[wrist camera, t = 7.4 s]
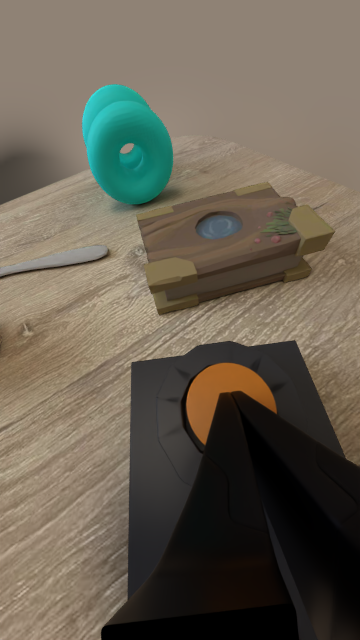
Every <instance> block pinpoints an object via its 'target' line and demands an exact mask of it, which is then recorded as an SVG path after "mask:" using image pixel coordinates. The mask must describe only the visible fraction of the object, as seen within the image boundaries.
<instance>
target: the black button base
mask: <svg viewBox="0 0 360 640" xmlns="http://www.w3.org/2000/svg"><path fill="white" fill-rule="evenodd" d="M219 363H234V364H239V365H242V366H244V367H247V368H249V369H250V370H252V371H254V372H255V373H256V374H258V375H259V376H260V377H261V378H262V379H263V380H264V382H265V383H266V384H267V386H268V387H269V389H270V391H271V393H272V395H273V397H274V400H275V404H276V410H277V414H278V415H279V416H281V417H282V418H284V419H285V420H287V421H288V422H290V423H291V424H293V425H294V426H296V427H298V428H299V429H301V430H302V431H304V432H305V433H307V434H308V435H310V436H311V437H313V438H314V439H316V440H317V442H318V441H319V442H321V443H322V444H324V445H325V446H327V447H328V448H330V449H331V450H333V451H335V452H336V453H338V454H339V455H341V456H342V457H344V458H345V455H344V453H343V451H342V448H341V446H340V444H339V441H338V439H337V437H336V434H335V432H334V430H333V427H332V425H331V423H330V420H329V418H328V416H327V413H326V411H325V409H324V406H323V404H322V402H321V399H320V397H319V395H318V392H317V390H316V388H315V385H314V383H313V381H312V378H311V376H310V374H309V371H308V369H307V367H306V364H305V362H304V360H303V357H302V355H301V353H300V350H299V348H298V346H297V343H296V341H295V340H294V341H286V342H279V343H272V344H264V345H257V346H249V347H247V346H244V345H241V344H238V343H236V342H233V341H226V342H219V343H212V344H204V345H199V346H196V347H195V348H194V349H192V350H191V351H189V352H188V353H187V354H185V355H183V356H175V357H168V358H160V359H153V360H145V361H138V362H132V364H131V424H130V484H129V544H128V600H129V598H130V597H131V596H132V595H133V594H134V593H135V592H136V591H137V590H138V589H139V588H140V587H141V585H142V584H143V583H144V582H145V581H146V580H147V579H148V578H149V576H150V575H151V573H152V572H153V571H154V569H155V567H156V566H157V564H158V562H159V561H160V559H161V557H162V555H163V553H164V551H165V548H166V546H167V544H168V542H169V539H170V537H171V535H172V533H173V530H174V528H175V526H176V523H177V521H178V519H179V517H180V514H181V512H182V510H183V507H184V505H185V503H186V501H187V498H188V496H189V493H190V491H191V488H192V486H193V483H194V481H195V478H196V475H197V472H198V469H199V465H200V462H201V458H202V455H203V451H204V448H205V445H204V444H203V443H202V442H201V441H200V440H199V439H198V437H197V436H196V435H195V433H194V431H193V430H192V427H191V425H190V423H189V419H188V416H187V408H186V402H187V395H188V391H189V388H190V386H191V384H192V382H193V381H194V379H195V378H196V377H197V375H198V374H199V373H201V372H202V371H203V370H204V369H206V368H208V367H210V366H212V365H215V364H219ZM261 500H262V499H261ZM262 504H263V502H262ZM263 508H264V512H265V516H266V520H267V525H268V529H269V533H270V538H271V541H272V545H273V549H274V553H275V556H276V559H277V563H278V566H279V569H280V572H281V574H282V577H283V579H284V582H285V584H286V587H287V589H288V592H289V594H290V597H291V599H292V602H293V604H294V607H295V609H296V613H297V622H298V632H299V640H318V639H317V636H316V634H315V632H314V629H313V627H312V624H311V622H310V619H309V617H308V614H307V612H306V609H305V607H304V604H303V602H302V599H301V597H300V594H299V592H298V589H297V587H296V584H295V582H294V579H293V577H292V574H291V572H290V569H289V567H288V564H287V562H286V559H285V557H284V554H283V552H282V549H281V547H280V544H279V542H278V539H277V537H276V534H275V532H274V529H273V527H272V524H271V522H270V519H269V517H268V514H267V512H266V509H265V507H264V504H263Z"/></svg>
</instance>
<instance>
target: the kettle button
mask: <svg viewBox="0 0 360 640" xmlns="http://www.w3.org/2000/svg"><path fill="white" fill-rule="evenodd" d="M239 390H240V391H243V392H244V393H246V394H247V395H249V396H250V397H252V398H253V399H255V400H256V401H258V402H259V403H261V404H262V405H264V406H265V407H267V408H268V409H270V410H272V411H273V412H275V413H276V414H277V410H276V404H275V400H274V397H273V395H272V393H271V391H270V389H269V387H268V386H267V384H266V383H265V382H264V380H263V379H262V378H261V377H260V376H259V375H258V374H256V373H255V372H254V371H252V370H250V369H249V368H247V367H244V366H242V365H239V364H234V363H219V364H215V365H212V366H210V367H208V368H206V369H204V370H203V371H202V372H201V373H199V374H198V375H197V377H196V378H195V379H194V381H193V382H192V384H191V386H190V388H189V391H188V395H187V402H186V408H187V416H188V419H189V423H190V425H191V427H192V430H193V431H194V433H195V435H196V436H197V437H198V439H199V440H200V441H201V442H202V443H203V444H204V445H205V444H206V441H207V437H208V433H209V430H210V426H211V423H212V419H213V415H214V412H215V408H216V404H217V401H218V397H219V394H220V393H223V392H230V393H231V392H232V391H239Z"/></svg>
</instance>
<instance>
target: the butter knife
mask: <svg viewBox="0 0 360 640" xmlns="http://www.w3.org/2000/svg"><path fill="white" fill-rule="evenodd" d="M107 252H108V249H107V246H104V245H95V246H89V247H83V248H79V249H74V250H70V251H65V252H61V253H56V254H53V255H49V256H46V257H42V258H38V259H35V260H31V261H27V262H22V263H18V264H14V265H10V266H5V267H1V268H0V276H3V275H7V274H11V273H16V272H21V271H27V270H32V269H39V268H48V267H57V266H63V265H69V264H75V263H81V262H86V261H90V260H95V259H98V258H101V257H102V256H104V255H106V254H107Z"/></svg>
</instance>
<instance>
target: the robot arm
mask: <svg viewBox="0 0 360 640" xmlns="http://www.w3.org/2000/svg"><path fill="white" fill-rule="evenodd" d="M261 499H262V500H261ZM262 502H263V504H264V507H265V509H266V512H267V514H268V517H269V519H270V522H271V524H272V527H273V529H274V532H275V534H276V537H277V539H278V542H279V544H280V547H281V549H282V552H283V554H284V557H285V559H286V562H287V564H288V567H289V569H290V572H291V574H292V577H293V579H294V582H295V584H296V587H297V589H298V592H299V594H300V597H301V599H302V602H303V604H304V607H305V609H306V612H307V614H308V617H309V619H310V622H311V624H312V627H313V629H314V632H315V634H316V636H317V639H318V640H360V467H359V466H357V465H356V464H354V463H352V462H350V461H349V460H347V459H346V458H344V457H342V456H341V455H339V454H338V453H336V452H335V451H333V450H331V449H330V448H328V447H327V446H325V445H324V444H322V443H321V442H319V441H318V442H317V440H316V439H314V438H313V437H311V436H310V435H308V434H307V433H305V432H304V431H302V430H301V429H299V428H298V427H296V426H294V425H293V424H291V423H290V422H288V421H287V420H285V419H284V418H282V417H281V416H279V415H278V414H276V413H275V412H273V411H272V410H270V409H268V408H267V407H265V406H264V405H262V404H261V403H259V402H258V401H256V400H255V399H253V398H252V397H250V396H249V395H247V394H246V393H244V392H243V391H240V390H239V391H232V392H231V393H230V392H223V393H220V394H219V397H218V401H217V404H216V408H215V412H214V415H213V419H212V423H211V426H210V430H209V433H208V437H207V441H206V444H205V448H204V451H203V455H202V458H201V462H200V465H199V469H198V472H197V475H196V478H195V481H194V483H193V486H192V488H191V491H190V493H189V496H188V498H187V501H186V503H185V505H184V507H183V510H182V512H181V514H180V517H179V519H178V521H177V523H176V526H175V528H174V530H173V533H172V535H171V537H170V539H169V542H168V544H167V546H166V548H165V551H164V553H163V555H162V557H161V559H160V561H159V562H158V564H157V566H156V567H155V569H154V571H153V572H152V573H151V575H150V576H149V578H148V579H147V580H146V581H145V582H144V583H143V584H142V585H141V587H140V588H139V589H138V590H137V591H136V592H135V593H134V594H133V595H132V596H131V597H130V598H129V600H128V601H127V602H126V603H125V604H124V605H123V606H122V607H121V608H120V609H119V610H118V611H117V613H116V614H115V615H114V616H113V617H112V618H111V619H110V620H109V621H108V622H107V623H106V624H105V625H104V627H103V628H102V630H101V640H299V632H298V622H297V613H296V609H295V607H294V604H293V602H292V599H291V597H290V594H289V592H288V589H287V587H286V584H285V582H284V579H283V577H282V574H281V572H280V569H279V566H278V563H277V559H276V556H275V553H274V549H273V545H272V541H271V538H270V533H269V529H268V525H267V520H266V516H265V512H264V508H263V504H262Z"/></svg>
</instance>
